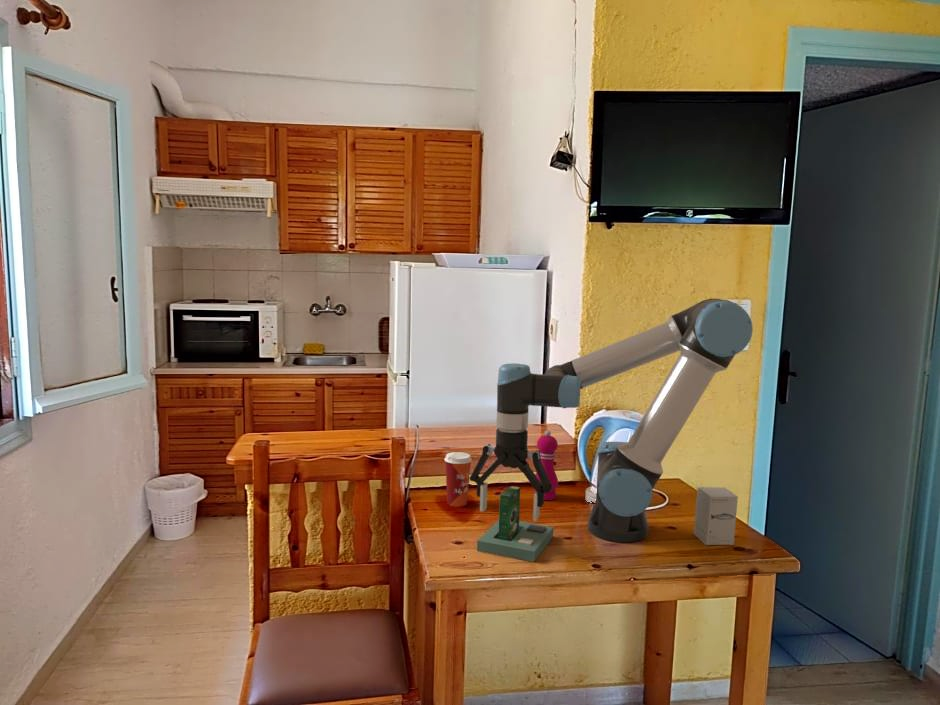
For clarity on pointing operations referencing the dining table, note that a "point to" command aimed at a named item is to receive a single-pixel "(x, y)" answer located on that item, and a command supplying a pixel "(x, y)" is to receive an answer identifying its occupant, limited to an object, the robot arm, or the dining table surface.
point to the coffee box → (509, 513)
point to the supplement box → (715, 515)
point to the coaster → (590, 495)
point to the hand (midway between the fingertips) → (509, 514)
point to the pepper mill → (548, 461)
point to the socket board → (517, 541)
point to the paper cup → (457, 478)
